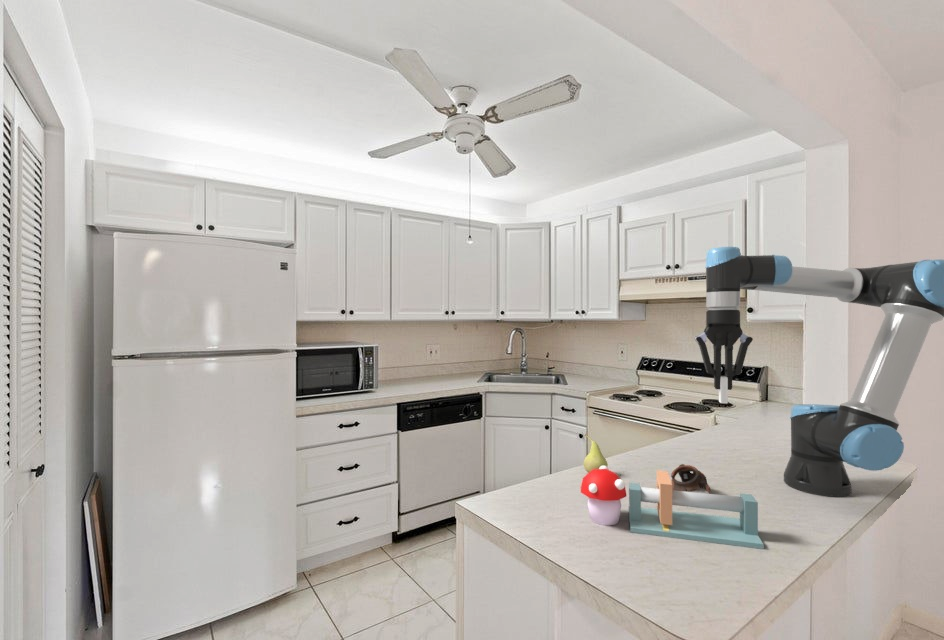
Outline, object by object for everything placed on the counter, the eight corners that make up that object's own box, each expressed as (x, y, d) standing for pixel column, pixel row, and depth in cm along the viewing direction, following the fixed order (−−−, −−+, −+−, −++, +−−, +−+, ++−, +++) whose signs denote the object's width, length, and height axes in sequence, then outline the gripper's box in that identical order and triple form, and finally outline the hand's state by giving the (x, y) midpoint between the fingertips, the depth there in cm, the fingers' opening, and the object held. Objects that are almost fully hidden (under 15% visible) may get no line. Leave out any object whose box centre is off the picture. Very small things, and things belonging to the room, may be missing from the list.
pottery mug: (720, 500, 119) (709, 476, 117) (686, 514, 120) (674, 490, 119) (699, 473, 131) (688, 451, 129) (668, 486, 132) (657, 464, 130)
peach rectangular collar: (667, 508, 108) (667, 471, 108) (672, 525, 100) (672, 484, 100) (656, 507, 109) (656, 470, 109) (660, 523, 101) (660, 483, 101)
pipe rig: (746, 523, 105) (746, 488, 105) (763, 549, 93) (763, 509, 93) (628, 509, 113) (628, 477, 112) (630, 532, 101) (630, 495, 101)
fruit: (599, 481, 132) (599, 440, 132) (577, 474, 138) (577, 435, 138) (611, 475, 137) (611, 436, 136) (590, 469, 142) (590, 431, 142)
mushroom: (620, 534, 100) (620, 480, 100) (573, 522, 106) (573, 471, 106) (631, 515, 109) (631, 466, 109) (587, 506, 115) (587, 459, 115)
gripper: (747, 309, 116) (748, 400, 116) (692, 309, 119) (692, 398, 120) (756, 308, 108) (757, 406, 109) (697, 309, 112) (697, 403, 112)
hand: (723, 402), depth 114 cm, fingers closed
